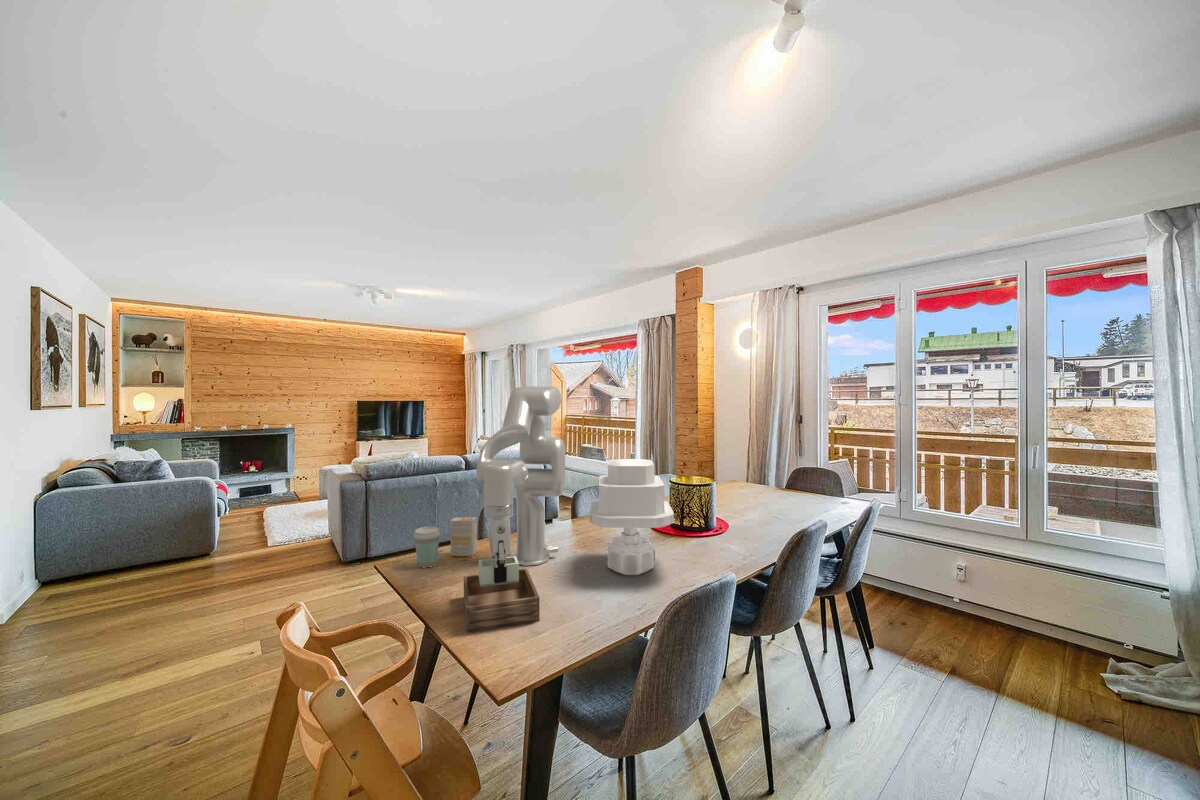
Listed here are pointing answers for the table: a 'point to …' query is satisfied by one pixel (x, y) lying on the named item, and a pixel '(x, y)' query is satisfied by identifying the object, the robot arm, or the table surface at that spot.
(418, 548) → the coffee cup
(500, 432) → the robot arm
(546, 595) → the table surface
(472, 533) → the supplement box
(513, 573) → the sage crate
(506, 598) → the walnut crate
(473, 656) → the table surface
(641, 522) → the white tiered cake stand
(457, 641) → the table surface
